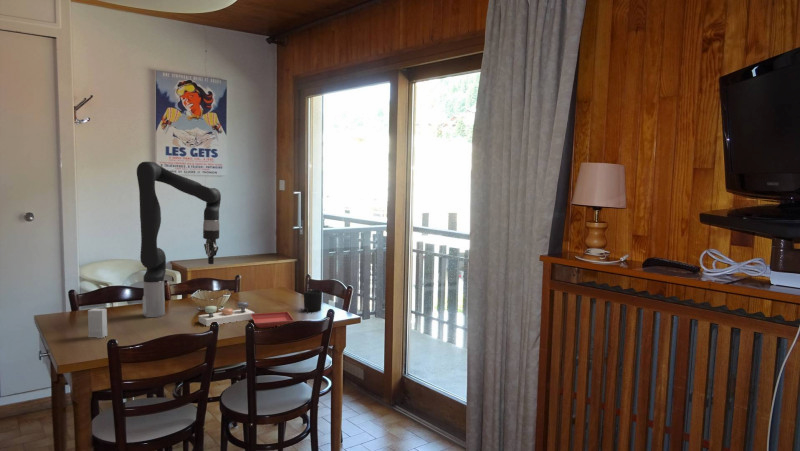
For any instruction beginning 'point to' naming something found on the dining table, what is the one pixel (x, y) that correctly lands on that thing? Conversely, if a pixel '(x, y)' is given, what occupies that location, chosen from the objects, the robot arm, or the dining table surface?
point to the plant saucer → (271, 319)
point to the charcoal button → (242, 306)
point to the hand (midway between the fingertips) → (210, 263)
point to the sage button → (210, 310)
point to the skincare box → (97, 323)
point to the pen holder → (312, 300)
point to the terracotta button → (227, 311)
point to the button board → (226, 317)
